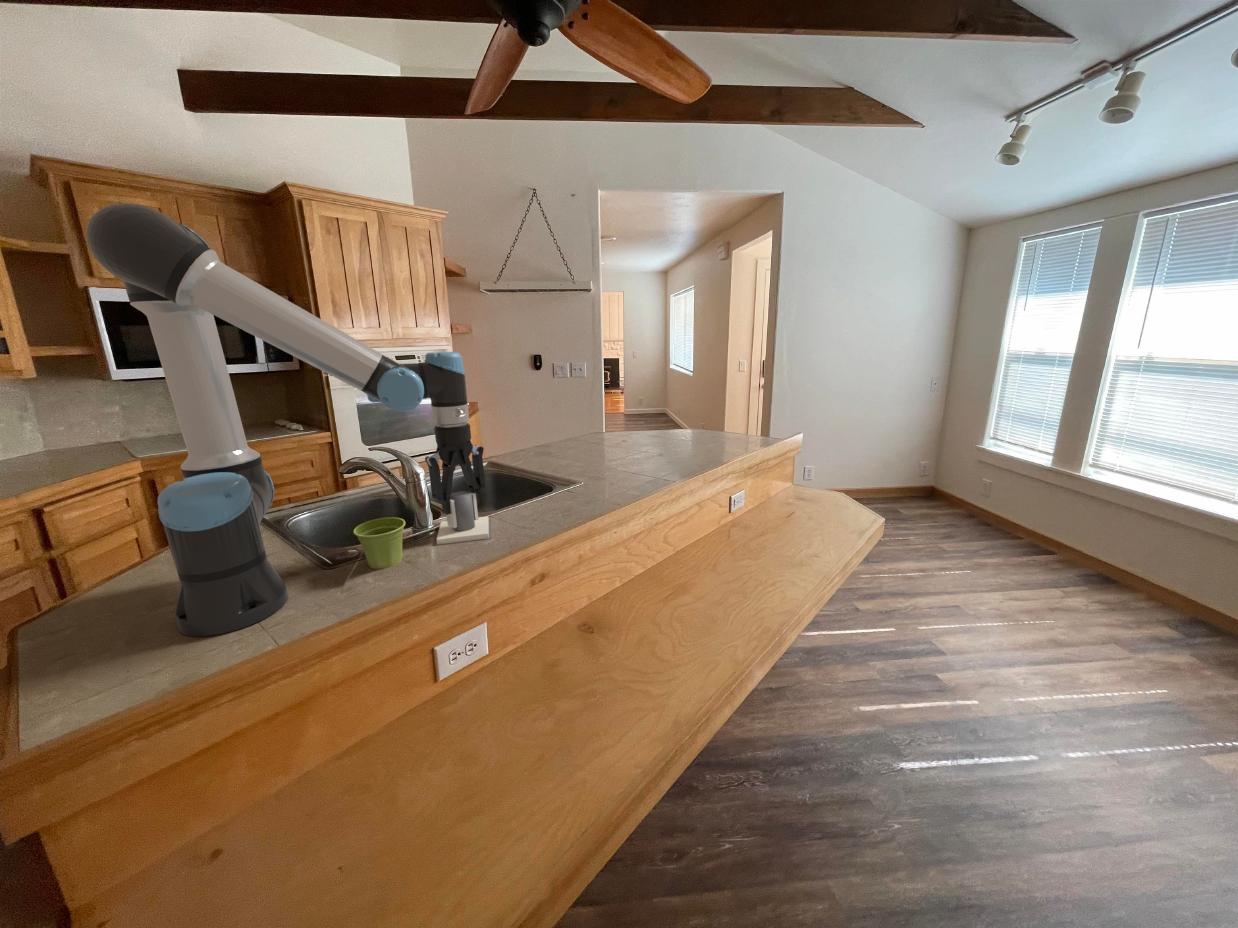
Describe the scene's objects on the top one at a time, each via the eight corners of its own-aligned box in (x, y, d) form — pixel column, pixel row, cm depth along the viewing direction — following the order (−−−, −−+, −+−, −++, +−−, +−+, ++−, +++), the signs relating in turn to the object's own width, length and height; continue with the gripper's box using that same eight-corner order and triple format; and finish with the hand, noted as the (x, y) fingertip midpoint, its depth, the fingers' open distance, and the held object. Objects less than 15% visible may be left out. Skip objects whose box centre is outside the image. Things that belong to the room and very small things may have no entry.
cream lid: (488, 538, 109) (484, 500, 106) (437, 544, 106) (432, 505, 104) (488, 520, 119) (485, 485, 117) (441, 525, 116) (437, 489, 114)
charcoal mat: (491, 542, 109) (490, 538, 108) (435, 549, 106) (434, 545, 106) (491, 522, 120) (490, 519, 120) (440, 528, 117) (439, 525, 117)
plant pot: (410, 570, 96) (404, 530, 94) (358, 580, 93) (350, 538, 91) (411, 551, 105) (405, 514, 102) (363, 559, 101) (356, 521, 99)
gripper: (422, 432, 97) (436, 539, 103) (496, 419, 110) (504, 514, 116) (404, 428, 101) (418, 530, 108) (476, 416, 115) (485, 507, 121)
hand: (463, 522), depth 112 cm, fingers closed on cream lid, 5 cm apart
